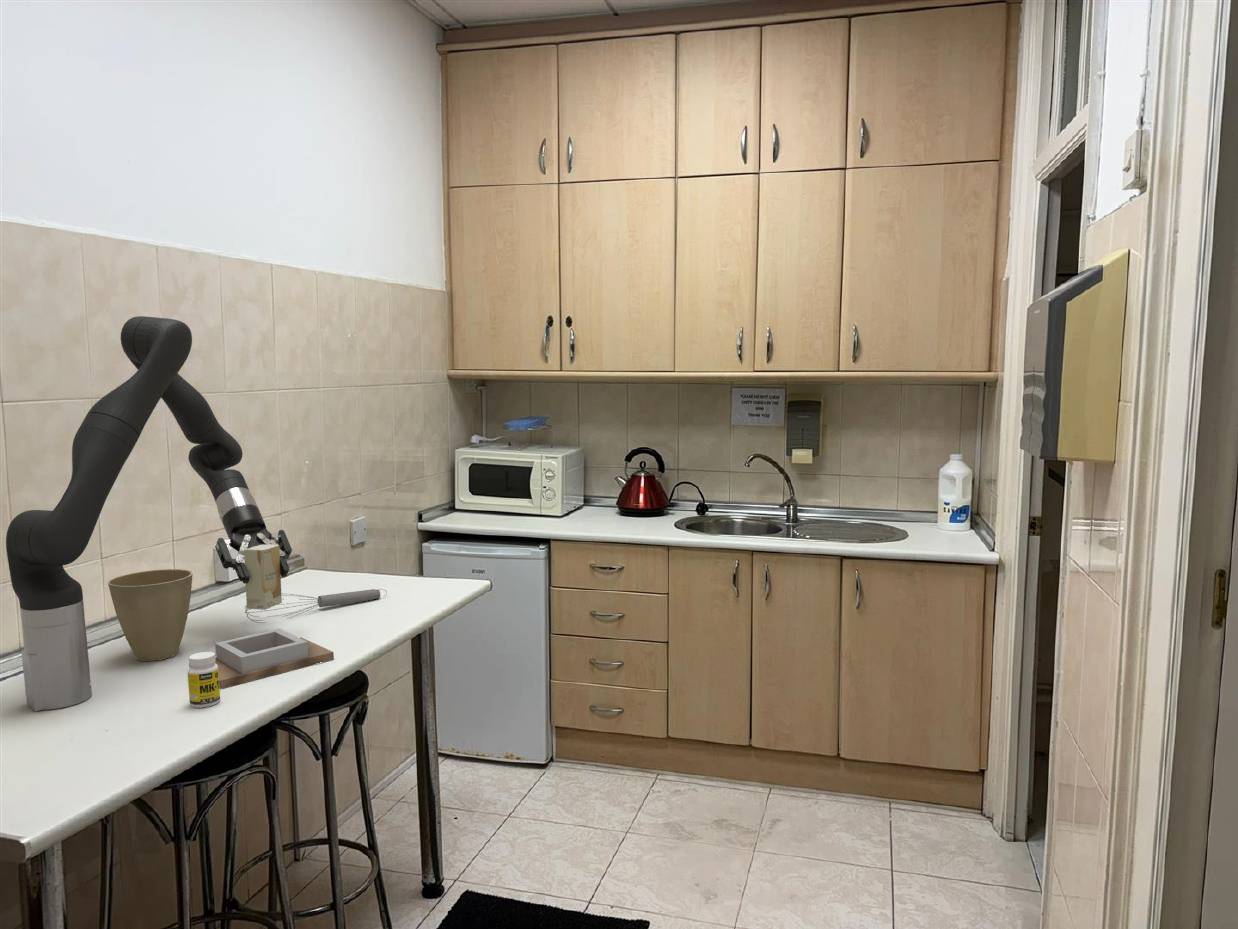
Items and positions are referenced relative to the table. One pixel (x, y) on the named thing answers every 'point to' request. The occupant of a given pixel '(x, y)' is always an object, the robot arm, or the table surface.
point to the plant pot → (152, 610)
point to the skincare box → (263, 576)
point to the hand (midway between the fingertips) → (266, 577)
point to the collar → (261, 650)
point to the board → (234, 677)
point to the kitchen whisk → (331, 600)
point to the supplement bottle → (203, 680)
